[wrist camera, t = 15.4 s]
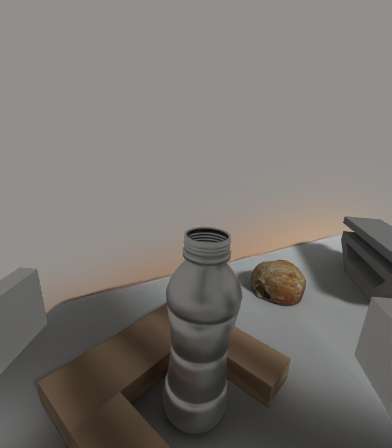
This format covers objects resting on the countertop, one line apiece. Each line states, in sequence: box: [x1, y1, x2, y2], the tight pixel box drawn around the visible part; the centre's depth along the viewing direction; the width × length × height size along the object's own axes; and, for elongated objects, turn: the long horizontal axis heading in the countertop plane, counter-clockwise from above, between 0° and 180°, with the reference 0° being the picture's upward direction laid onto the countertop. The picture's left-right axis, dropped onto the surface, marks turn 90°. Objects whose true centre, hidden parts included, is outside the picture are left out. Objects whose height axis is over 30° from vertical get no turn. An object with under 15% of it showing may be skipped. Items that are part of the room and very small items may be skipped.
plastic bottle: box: [162, 227, 242, 434], centre depth 24 cm, size 6×7×20 cm
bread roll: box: [251, 260, 306, 306], centre depth 50 cm, size 10×10×8 cm
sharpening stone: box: [341, 217, 392, 301], centre depth 52 cm, size 25×8×11 cm, turn 171°
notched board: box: [38, 304, 291, 448], centre depth 29 cm, size 21×18×3 cm
